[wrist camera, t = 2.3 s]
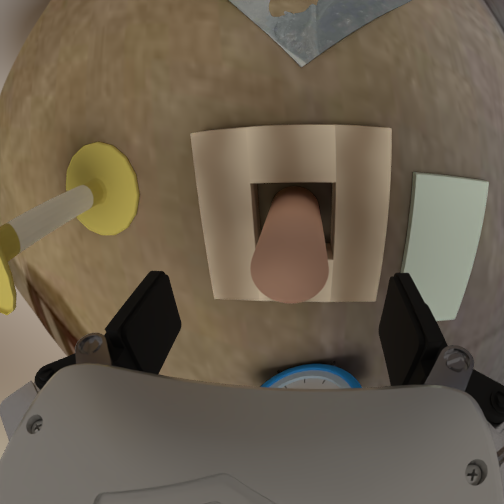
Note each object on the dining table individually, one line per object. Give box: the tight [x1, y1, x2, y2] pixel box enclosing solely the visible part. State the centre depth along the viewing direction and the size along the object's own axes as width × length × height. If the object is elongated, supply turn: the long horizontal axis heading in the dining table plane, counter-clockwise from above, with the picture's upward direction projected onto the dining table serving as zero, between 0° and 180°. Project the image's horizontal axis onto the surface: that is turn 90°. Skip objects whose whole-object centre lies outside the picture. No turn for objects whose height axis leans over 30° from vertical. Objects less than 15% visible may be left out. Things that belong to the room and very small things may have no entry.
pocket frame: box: [190, 124, 392, 302], centre depth 22 cm, size 14×14×3 cm
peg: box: [250, 186, 329, 303], centre depth 19 cm, size 4×4×10 cm
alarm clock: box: [260, 361, 362, 389], centre depth 25 cm, size 13×6×15 cm, turn 112°
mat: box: [400, 172, 489, 321], centre depth 22 cm, size 8×15×1 cm, turn 5°
